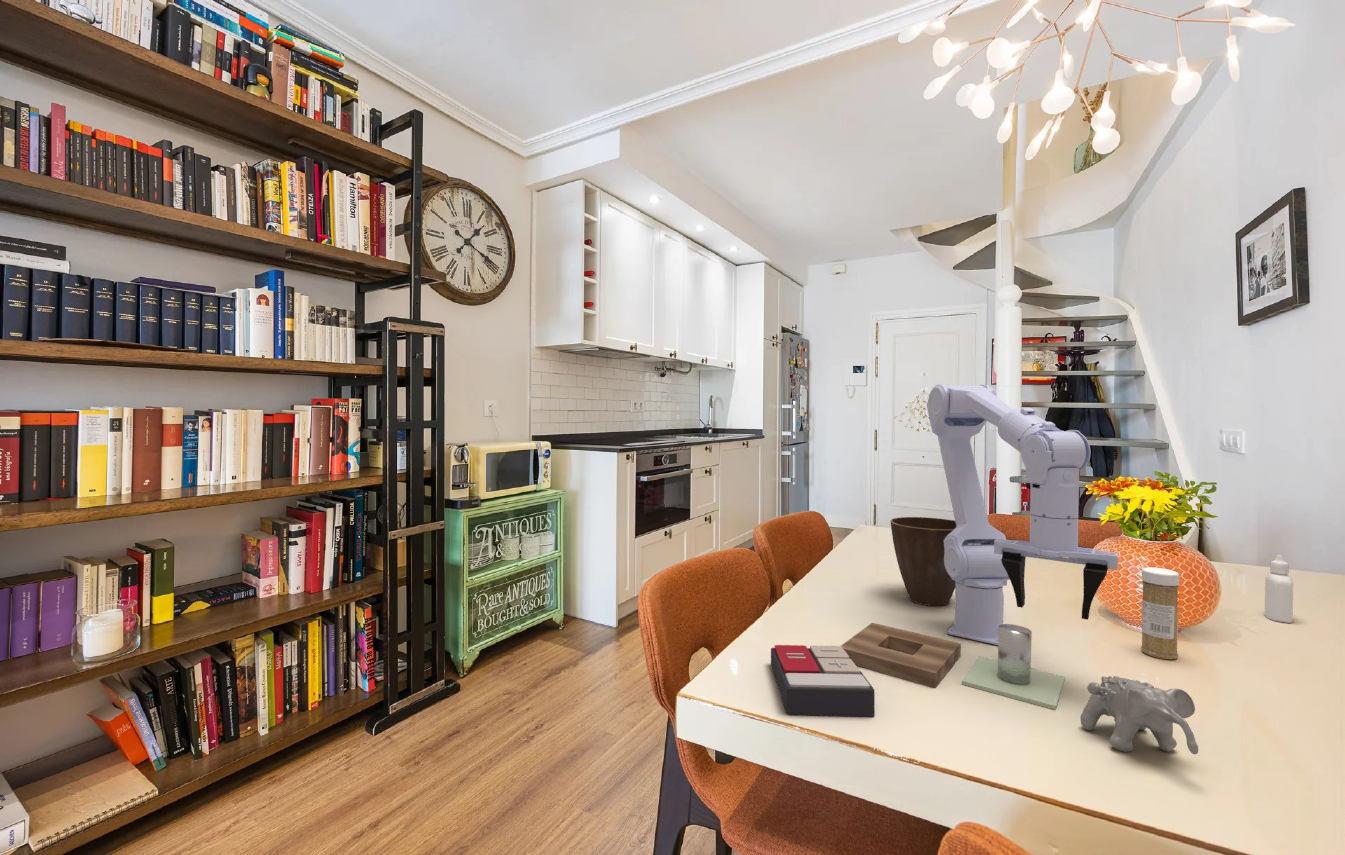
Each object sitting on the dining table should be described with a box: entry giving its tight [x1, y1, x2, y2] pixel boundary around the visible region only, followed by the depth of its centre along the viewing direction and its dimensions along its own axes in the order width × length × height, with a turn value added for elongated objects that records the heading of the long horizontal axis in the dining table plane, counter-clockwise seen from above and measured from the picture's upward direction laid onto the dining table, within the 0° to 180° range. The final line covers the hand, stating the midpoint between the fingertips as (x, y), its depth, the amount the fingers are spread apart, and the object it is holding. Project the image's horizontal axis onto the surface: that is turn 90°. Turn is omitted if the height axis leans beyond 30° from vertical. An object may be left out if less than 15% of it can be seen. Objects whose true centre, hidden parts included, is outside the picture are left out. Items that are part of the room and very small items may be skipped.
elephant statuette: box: [1080, 675, 1199, 755], centre depth 65 cm, size 9×12×8 cm
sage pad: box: [961, 655, 1066, 711], centre depth 81 cm, size 11×11×1 cm
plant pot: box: [889, 516, 956, 607], centre depth 118 cm, size 15×15×16 cm
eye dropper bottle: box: [1264, 554, 1294, 624], centre depth 108 cm, size 4×6×12 cm
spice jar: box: [1140, 566, 1180, 660], centre depth 91 cm, size 5×5×14 cm
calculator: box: [770, 644, 876, 718], centre depth 79 cm, size 11×4×15 cm
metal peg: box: [997, 623, 1033, 685], centre depth 81 cm, size 4×4×7 cm
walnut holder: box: [840, 622, 962, 689], centre depth 89 cm, size 14×14×2 cm
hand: (1052, 611), depth 82 cm, fingers open, 7 cm apart
